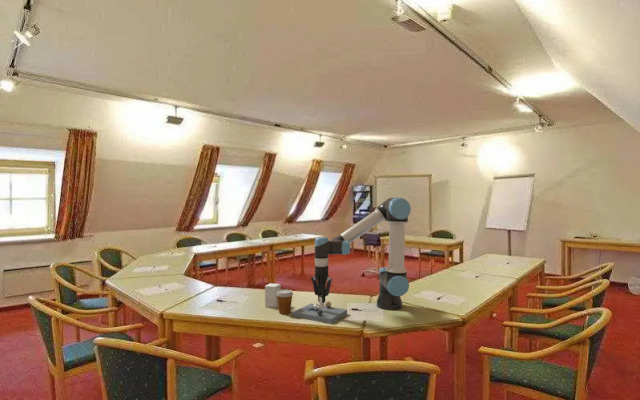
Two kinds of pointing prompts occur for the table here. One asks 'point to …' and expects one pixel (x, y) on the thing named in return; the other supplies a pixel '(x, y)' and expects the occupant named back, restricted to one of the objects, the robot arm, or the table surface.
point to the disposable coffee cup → (284, 301)
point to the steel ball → (316, 307)
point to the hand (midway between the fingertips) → (321, 308)
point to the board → (327, 317)
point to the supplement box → (271, 295)
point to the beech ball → (328, 304)
